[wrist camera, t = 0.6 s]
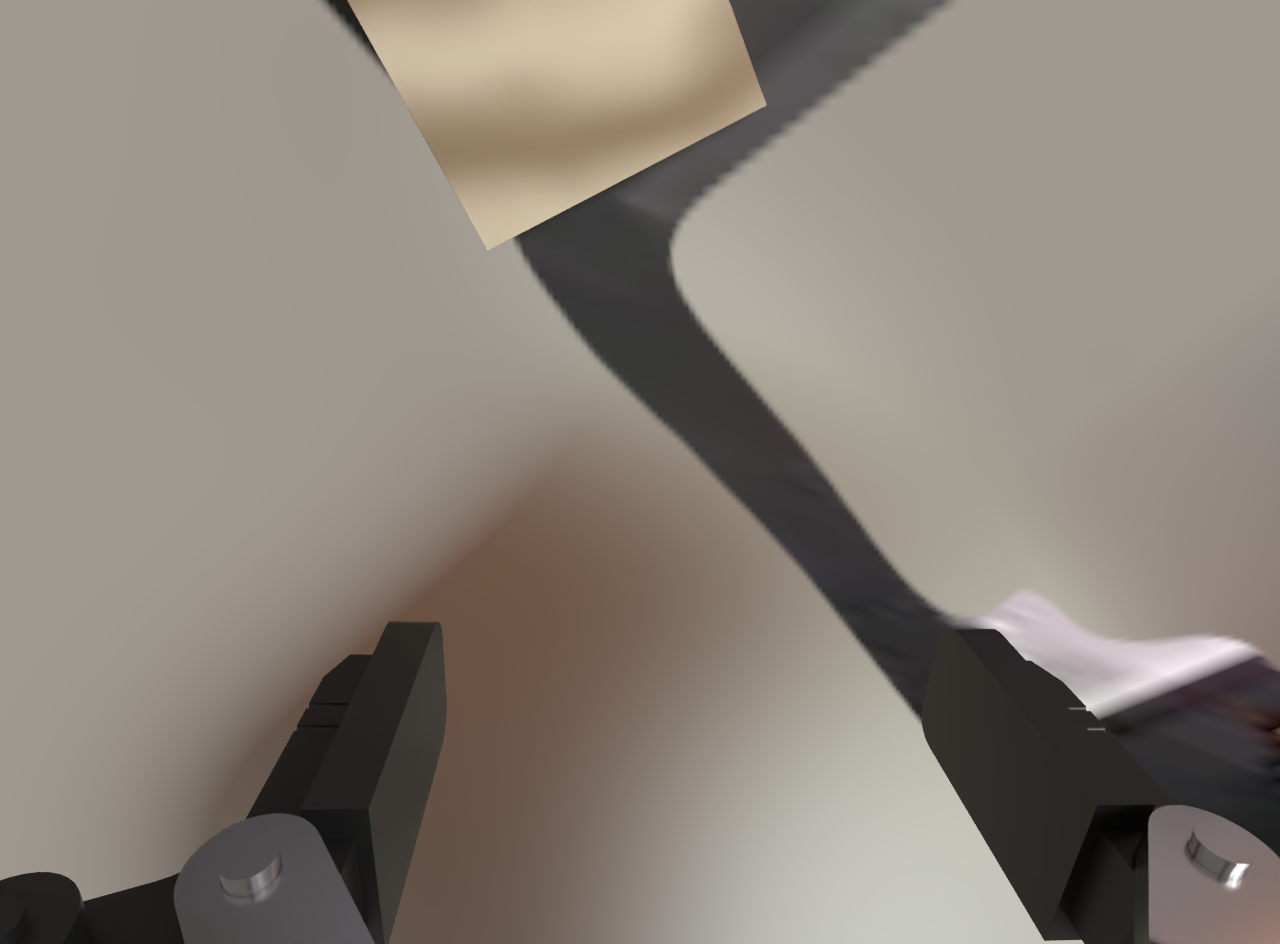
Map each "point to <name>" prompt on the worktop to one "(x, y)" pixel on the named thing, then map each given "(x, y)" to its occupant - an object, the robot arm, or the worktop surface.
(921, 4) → the worktop surface
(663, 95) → the birch board
